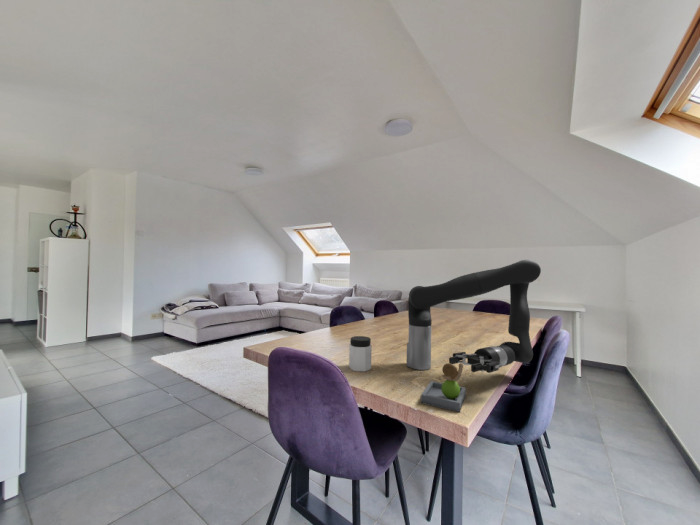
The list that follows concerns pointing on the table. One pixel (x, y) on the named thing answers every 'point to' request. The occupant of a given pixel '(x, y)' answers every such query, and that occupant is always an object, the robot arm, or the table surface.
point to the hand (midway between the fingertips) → (460, 364)
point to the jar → (360, 353)
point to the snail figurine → (451, 380)
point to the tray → (442, 397)
